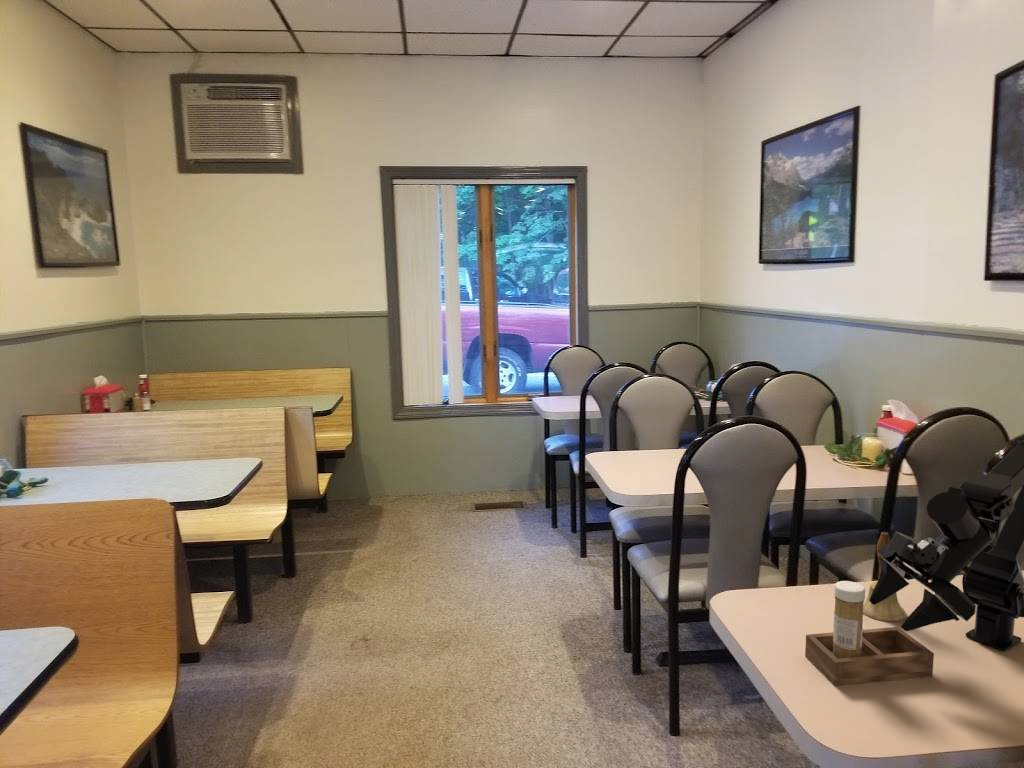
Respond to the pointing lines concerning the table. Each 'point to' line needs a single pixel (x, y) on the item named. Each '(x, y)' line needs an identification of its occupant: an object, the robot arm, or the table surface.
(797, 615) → the table surface
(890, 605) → the hand bell
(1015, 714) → the table surface
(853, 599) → the sprinkles bottle
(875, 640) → the wooden compartment tray
